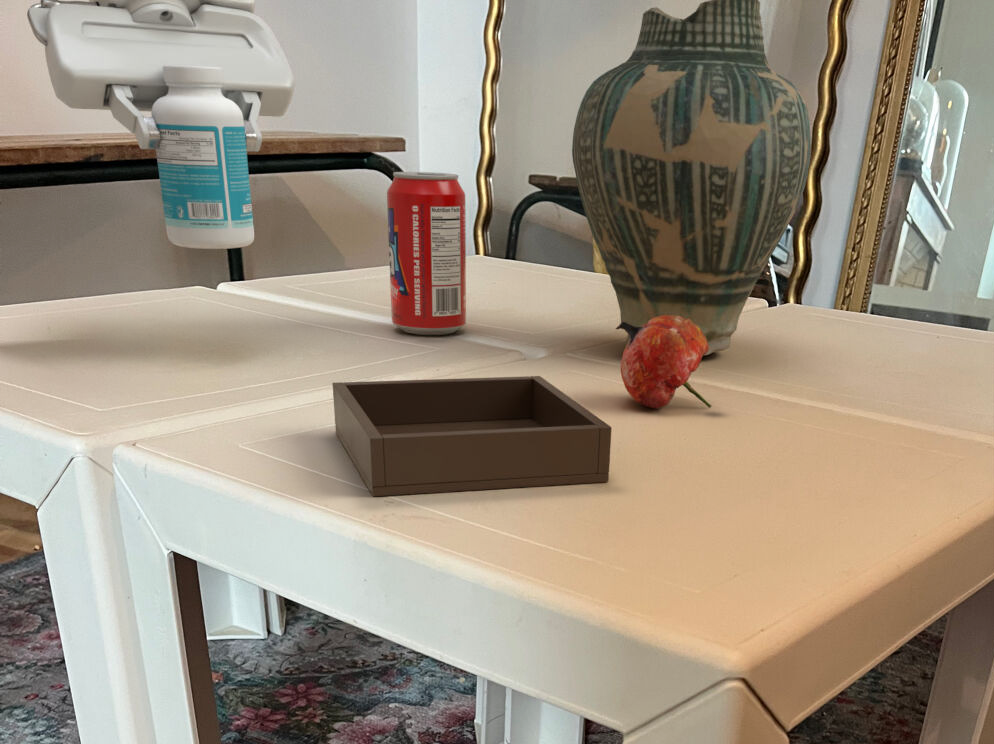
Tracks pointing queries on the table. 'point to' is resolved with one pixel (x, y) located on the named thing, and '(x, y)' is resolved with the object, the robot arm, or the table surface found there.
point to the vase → (691, 166)
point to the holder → (468, 435)
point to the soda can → (427, 252)
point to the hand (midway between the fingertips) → (204, 144)
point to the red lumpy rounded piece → (661, 358)
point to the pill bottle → (202, 161)
